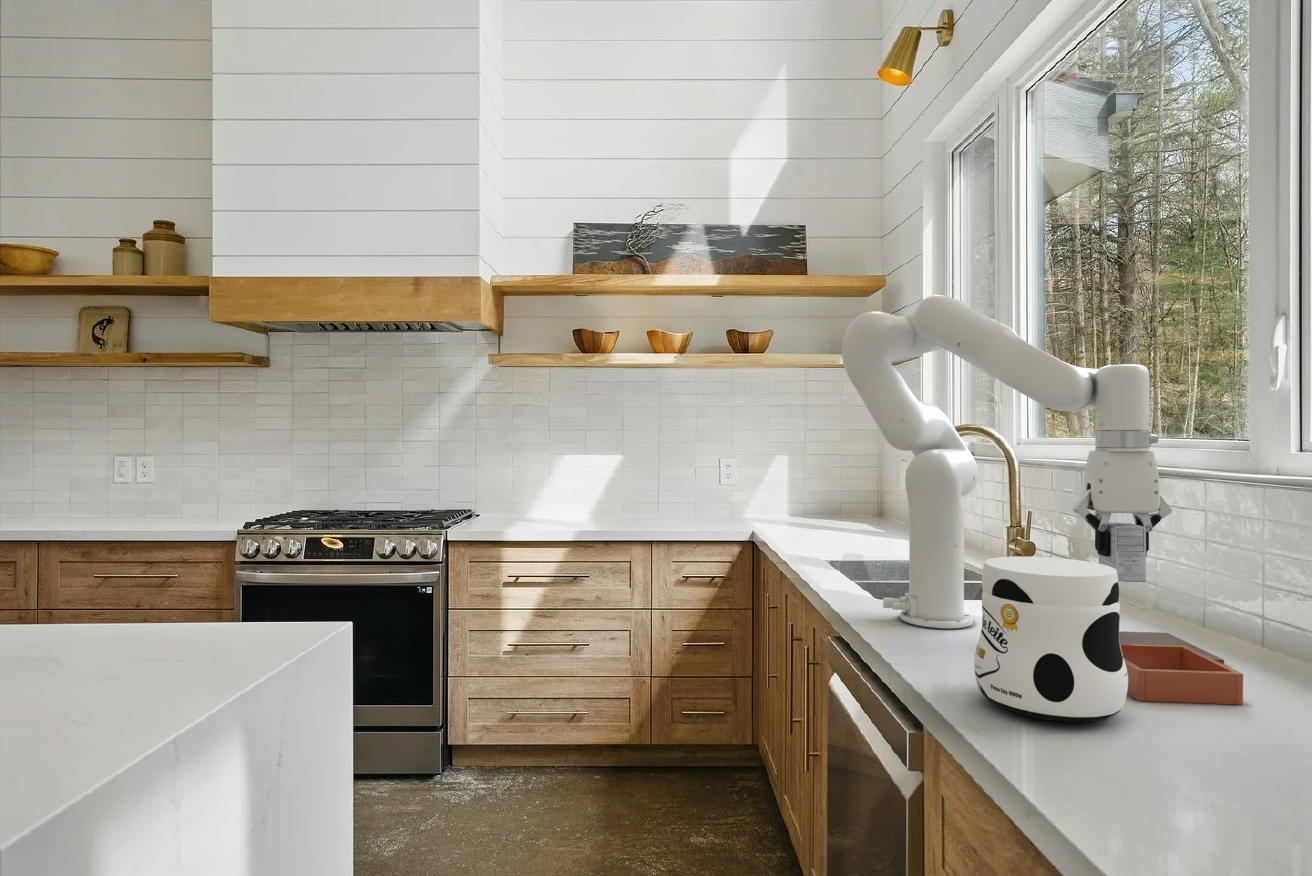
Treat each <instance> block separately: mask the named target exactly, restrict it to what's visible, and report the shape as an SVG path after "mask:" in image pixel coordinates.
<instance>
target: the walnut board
mask: <svg viewBox="0 0 1312 876" xmlns="http://www.w3.org/2000/svg"><path fill="white" fill-rule="evenodd" d="M1119 638H1120V644H1151V645H1185V646H1187V647H1189V648H1191V649H1193V650H1195V651H1197V652H1199V653H1201V654H1203V655H1205V656H1207V657H1209V658H1211V659H1214V660H1216V661H1218V662H1220V663H1222V664H1224V665H1225V660H1224V658H1221V657H1219V656H1217V655H1215V654H1213V653H1211V652H1209V651H1207V650H1204V649H1203V648H1200V647H1199V646H1197V645H1194V644H1192V643H1190V642H1187V640H1183V639H1181V638H1179V637H1177V636H1175V635H1173V634H1171V633H1169V632H1155V631H1154V632H1152V631H1121V630H1119Z"/></svg>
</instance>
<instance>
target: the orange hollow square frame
mask: <svg viewBox="0 0 1312 876" xmlns="http://www.w3.org/2000/svg"><path fill="white" fill-rule="evenodd" d="M1120 646H1121V650H1122V654H1123V657H1124V661H1125V664H1126V668H1127V672H1128V689H1127V695H1130V697H1132V698H1133V699H1135V700H1137V701H1139V702H1158V703H1161V702H1162V703H1182V704H1183V703H1187V704H1189V703H1190V704H1211V705H1213V704H1215V705H1237V706H1243V705H1244V674H1243V673H1242V672H1241V671H1238V670H1236V669H1234V668H1232V667H1231V666H1228V665H1226V664H1225V663H1224V664H1222V663H1220V662H1218V661H1216V660H1214V659H1211V658H1209V657H1207V656H1205V655H1203V654H1201V653H1199V652H1197V651H1195V650H1193V649H1191V648H1189V647H1187V646H1185V645H1151V644H1120Z"/></svg>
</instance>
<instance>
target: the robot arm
mask: <svg viewBox="0 0 1312 876" xmlns="http://www.w3.org/2000/svg"><path fill="white" fill-rule="evenodd" d="M942 349H943V350H946V351H948V352H949V353H951V354H953V355H954V356H957V357H959V358H960V359H962V360H964V361H965V362H966V363H969V364H971V366H973V367H976V368H977V369H979V370H981V371H982V372H984V373H985V374H987V375H989V376H991V377H993V378H995V379H996V380H998V381H1000V382H1001V383H1003V384H1005V385H1006V386H1008V387H1010V388H1011V389H1013V390H1015V391H1017V392H1018V393H1020V394H1022V395H1024V396H1026V397H1028V398H1029V399H1031V400H1033V401H1035V402H1036V403H1038V404H1040V405H1042V406H1044V407H1045V408H1048V409H1050V410H1054V411H1062V412H1067V413H1075V412H1076V413H1077V412H1085V411H1091V410H1095V411H1094V412H1095V413H1094V415H1095V416H1094V419H1095V420H1094V421H1095V423H1094V424H1095V426H1094V427H1095V428H1094V429H1095V431H1094V437H1095V438H1094V450H1088V451H1089V452H1088V455H1087V460H1086V465H1085V470H1084V479H1083V489H1082V490H1083V491H1082V496H1081V497H1080V498H1079V500H1078V501H1077V502H1076V504H1074V506H1073V508H1072V511H1073V512H1074V513H1075V514H1077V516H1079V517H1081V518H1082V519H1083V520H1085V522H1086V523H1088V524H1089V525H1090V527H1091V528H1092V529H1093V530H1094V548H1095V550H1096V553H1097V554H1098V556H1099V555H1102V556H1105V557H1109V556H1110V555H1111V534H1110V532H1108V531H1107V526H1108V523H1109V522H1110V519H1111V515H1112V514H1132V516H1133V520H1134V524H1136V525H1139V526H1142V527H1145V529H1146V558H1147V556H1148V552H1149V550H1150V533H1151V532H1152V531H1153V529H1154V527H1156V526H1157V524H1159V522H1161V521H1162V520H1163V519H1165V518H1166V517H1167V516H1169V515H1170V514H1171V513H1172V512H1173V509H1172V508H1171V507H1170V505H1169V504H1168V503H1167V501H1166V500H1165V499H1164V498H1163V497H1162V495H1161V486H1160V485H1161V484H1160V477H1159V475H1160V474H1159V471H1158V470H1159V469H1158V464H1157V459H1156V456H1155V455H1156V454H1155V452H1154V451H1153V450H1150V448H1152V444H1158V442H1159V436H1158V435H1157V434H1152V431H1151V430H1150V409H1151V407H1150V401H1151V398H1150V397H1151V396H1150V395H1151V393H1150V392H1151V390H1150V388H1151V387H1150V386H1151V385H1150V384H1151V383H1150V381H1151V378H1150V371H1149V369H1148V368H1147V366H1144V365H1142V364H1126V363H1125V364H1111V365H1105V366H1102V367H1100V368H1086V367H1085V368H1084V367H1079V366H1076V365H1073V364H1070V363H1067V361H1066V362H1065V361H1063V360H1061V359H1059V358H1058V357H1056V356H1054V355H1052V354H1049V353H1048V352H1046V351H1044V350H1042V349H1040V348H1038V347H1037V346H1034V345H1033V344H1031V343H1029V342H1028V341H1026V340H1024V339H1023V338H1021V337H1020V336H1019V335H1018V334H1017V333H1016V331H1015V330H1014V329H1013V328H1011V327H1009V326H1007V325H1005V324H1003V323H1002V322H999V321H997V320H996V319H994V318H991V317H990V316H988V315H986V314H984V313H981V312H980V311H978V310H976V309H974V308H973V307H971V306H969V305H968V304H966V303H965V302H963V301H961V300H959V299H957V298H953V297H951V296H949V295H944V294H934V295H930V296H928V297H926V298H924V299H923V300H922V301H920V302H919V304H918V305H917V306H916V308H915V310H914V312H912V313H908V314H904V315H901V316H898V315H896V314H891V313H888V312H885V311H878V310H877V311H876V310H873V311H866V312H863V313H861V314H859V315H858V316H856V317H854V319H853V320H852V321H851V322H850V323H849V325H848V326H847V328H846V330H845V333H844V335H843V338H842V342H841V360H842V364H843V368H844V370H845V372H846V375H847V377H848V378H849V380H850V382H851V384H852V385H853V387H854V389H855V390H856V392H857V393H858V395H859V396H860V398H861V400H862V401H863V403H864V405H865V407H866V409H867V410H868V412H869V414H870V415H871V417H872V419H873V420H874V422H875V424H876V425H877V427H878V428H879V430H880V432H881V434H882V435H883V437H884V439H885V440H886V442H887V443H888V444H889V445H890V446H891V447H893V448H894V449H896V450H899V451H903V452H904V451H905V452H909V451H910V452H911V453H912V454H913V456H914V457H913V458H912V460H911V461H910V462H909V464H908V466H907V469H906V473H905V490H906V491H905V493H906V498H907V504H908V535H909V541H908V542H909V544H908V545H909V547H908V549H909V551H908V553H909V555H908V559H909V561H908V565H909V566H908V573H909V574H908V592H905V593H904V596H900V597H899V598H895V597H883V598H882V608H883V609H891V610H893V611H899V610H900V619H901V620H902V621H903V622H905V623H908V624H911V625H914V626H918V627H923V628H932V629H947V630H948V629H963V628H964V629H965V628H968V627H971V626H973V624H974V617H973V616H972V615H971V614H970V613H968V612H965V518H964V510H963V504H962V497H965V496H968V494H970V493H971V492H972V491H974V490H975V488H976V486H977V484H978V481H979V477H980V471H979V466H978V463H977V461H976V459H975V457H974V456H973V454H972V452H971V450H970V449H969V448H968V447H967V444H966V443H965V442H964V440H963V439H962V437H961V435H960V434H959V432H958V430H956V428H955V426H954V425H953V423H952V422H951V420H950V419H949V417H948V416H947V415H946V413H944V412H943V410H941V409H940V408H939V407H938V406H936V405H934V404H932V403H929V402H926V401H920V400H919V399H917V397H916V396H915V394H914V393H913V392H912V390H911V389H910V388H909V386H908V384H907V383H906V381H905V379H904V378H903V376H902V375H901V374H900V372H899V371H898V369H896V368H895V366H894V365H893V364H892V363H891V361H890V360H900V359H906V358H911V357H916V356H919V355H924V354H927V353H930V352H936V351H940V350H942ZM1089 510H1090V511H1095V512H1094V514H1092V512H1090V511H1089Z"/></svg>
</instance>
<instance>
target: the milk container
mask: <svg viewBox="0 0 1312 876" xmlns="http://www.w3.org/2000/svg"><path fill="white" fill-rule="evenodd" d="M982 566H983V567H982V572H981V573H982V574H981V589H982V593H981V614H982V615H981V616H982V618H981V619H982V620H981V621H982V622H981V631H980V634H979V638H978V642H977V645H976V649H975V652H974V658H973V659H974V660H973V664H974V665H973V667H974V675H975V681H976V685H977V687H978V690H979V691H980V693H981V694H982V695H983V697H985V698H986V699H987V700H988V701H990V702H991V703H993V704H995V705H997V706H998V707H1000V708H1002V709H1005V710H1007V711H1010V712H1013V713H1016V714H1019V715H1023V716H1026V717H1032V718H1036V719H1040V720H1044V721H1045V720H1046V721H1056V722H1063V723H1076V722H1077V723H1090V722H1097V721H1102V720H1103V721H1104V720H1108V719H1109V718H1112V717H1113V716H1116V715H1117V714H1118V713H1120V712H1121V710H1122V709H1123V708H1124V706H1125V703H1126V699H1127V696H1128V693H1127V689H1128V672H1127V668H1126V664H1125V661H1124V657H1123V654H1122V650H1121V646H1120V638H1119V631H1120V624H1121V623H1120V622H1121V604H1120V601H1119V599H1120V585H1119V581H1118V575H1117V570H1116V569H1114V568H1112V567H1110V566H1107V565H1102V564H1099V562H1094V561H1086V560H1079V559H1071V558H1062V557H1052V556H1051V557H1049V556H1023V555H1022V556H1020V555H1019V556H999V557H997V556H996V557H993V558H988V559H986V560H985V561H984V563H983V565H982Z"/></svg>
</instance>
